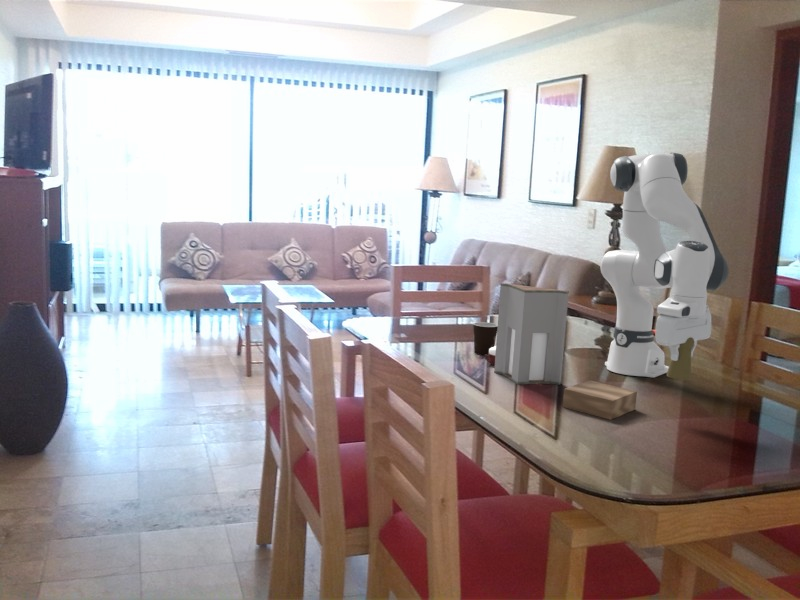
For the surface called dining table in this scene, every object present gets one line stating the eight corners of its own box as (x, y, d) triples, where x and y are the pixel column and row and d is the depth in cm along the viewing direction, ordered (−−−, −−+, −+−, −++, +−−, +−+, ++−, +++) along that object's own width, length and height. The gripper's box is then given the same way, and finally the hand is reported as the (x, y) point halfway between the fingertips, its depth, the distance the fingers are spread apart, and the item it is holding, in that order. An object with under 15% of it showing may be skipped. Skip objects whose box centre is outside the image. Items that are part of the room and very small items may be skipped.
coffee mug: (488, 357, 258) (490, 328, 256) (466, 352, 263) (468, 324, 261) (505, 351, 267) (507, 323, 265) (483, 347, 272) (485, 320, 270)
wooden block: (588, 397, 214) (589, 380, 213) (635, 409, 205) (637, 391, 204) (562, 406, 204) (564, 388, 203) (610, 419, 194) (612, 400, 194)
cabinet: (560, 383, 228) (568, 291, 223) (549, 390, 219) (557, 294, 215) (496, 371, 238) (502, 283, 234) (483, 377, 230) (489, 285, 225)
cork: (662, 375, 196) (667, 334, 195) (673, 372, 201) (678, 331, 199) (685, 381, 192) (690, 338, 190) (695, 378, 196) (700, 336, 195)
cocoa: (486, 367, 244) (488, 331, 242) (482, 362, 250) (483, 326, 248) (515, 367, 245) (517, 331, 243) (510, 361, 251) (512, 326, 249)
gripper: (698, 300, 202) (692, 351, 205) (653, 306, 190) (647, 360, 192) (720, 304, 197) (714, 356, 200) (676, 311, 185) (670, 366, 187)
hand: (681, 358), depth 196 cm, fingers closed on cork, 4 cm apart
